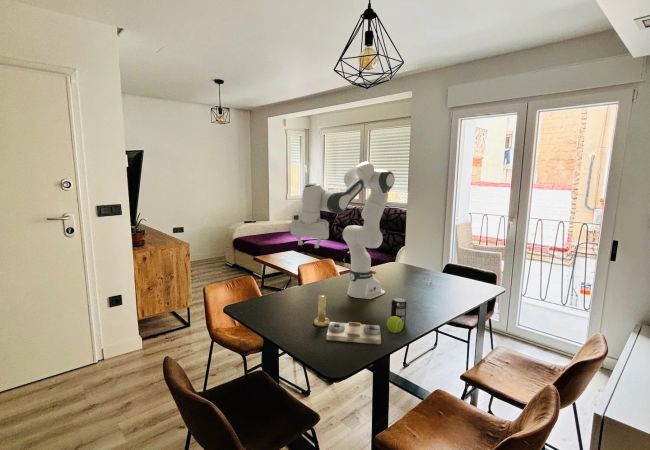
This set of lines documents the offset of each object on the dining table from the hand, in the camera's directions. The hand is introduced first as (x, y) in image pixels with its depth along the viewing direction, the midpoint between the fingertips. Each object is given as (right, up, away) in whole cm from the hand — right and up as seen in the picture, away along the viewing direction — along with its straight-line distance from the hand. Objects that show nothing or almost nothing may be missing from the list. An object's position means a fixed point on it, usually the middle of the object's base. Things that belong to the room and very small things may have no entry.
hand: (308, 246), depth 164 cm
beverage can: (+41, -36, -7) cm, 55 cm away
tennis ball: (+38, -37, -15) cm, 55 cm away
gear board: (+20, -36, -19) cm, 46 cm away
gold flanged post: (+6, -35, -9) cm, 36 cm away
